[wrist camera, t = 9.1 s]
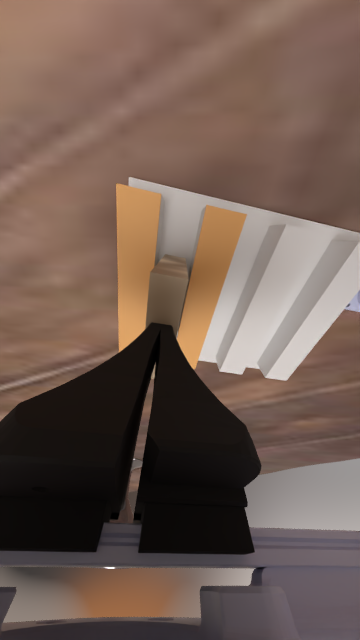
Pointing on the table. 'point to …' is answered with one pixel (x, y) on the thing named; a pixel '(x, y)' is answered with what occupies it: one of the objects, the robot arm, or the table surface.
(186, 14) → the table surface
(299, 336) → the rack
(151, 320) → the block
